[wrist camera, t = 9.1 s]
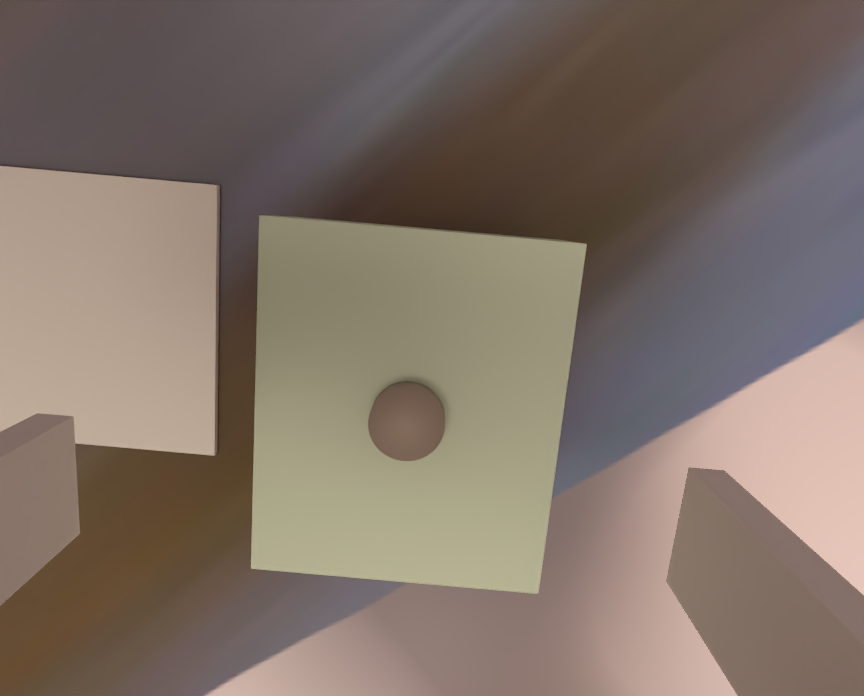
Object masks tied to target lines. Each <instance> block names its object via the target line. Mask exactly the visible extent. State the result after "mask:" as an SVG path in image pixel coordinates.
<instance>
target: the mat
mask: <svg viewBox="0 0 864 696" xmlns="http://www.w3.org/2000/svg"><path fill="white" fill-rule="evenodd" d="M219 245H220V185H210V184H199V183H188V182H176V181H165V180H154V179H143V178H131V177H120V176H109V175H97V174H86V173H75V172H64V171H52V170H41V169H30V168H18V167H7V166H0V432H1V431H3V430H5V429H7V428H9V427H11V426H13V425H15V424H17V423H19V422H21V421H23V420H25V419H27V418H29V417H31V416H33V415H35V414H37V413H41V414H53V415H65V416H74V433H75V443H78V444H89V445H100V446H112V447H123V448H134V449H146V450H157V451H168V452H179V453H191V454H202V455H213V456H215V455H216V454H217V435H218V340H219Z"/></svg>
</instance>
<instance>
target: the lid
mask: <svg viewBox="0 0 864 696" xmlns="http://www.w3.org/2000/svg"><path fill="white" fill-rule="evenodd" d="M586 246H587V244H584V243H578V242H571V241H565V240H556V239H545V238H533V237H522V236H510V235H499V234H488V233H476V232H465V231H453V230H442V229H430V228H419V227H408V226H396V225H385V224H373V223H362V222H350V221H339V220H328V219H316V218H305V217H293V216H266V215H259V246H258V289H257V332H256V375H255V418H254V462H253V505H252V548H251V569H262V570H273V571H284V572H296V573H307V574H319V575H330V576H341V577H353V578H364V579H376V580H387V581H398V582H410V583H421V584H433V585H444V586H455V587H467V588H478V589H490V590H501V591H512V592H524V593H535V594H538V592H539V585H540V578H541V570H542V563H543V556H544V549H545V540H546V534H547V527H548V520H549V513H550V505H551V498H552V491H553V484H554V477H555V470H556V462H557V455H558V448H559V441H560V434H561V426H562V419H563V412H564V405H565V398H566V390H567V383H568V376H569V369H570V362H571V354H572V347H573V340H574V333H575V325H576V318H577V311H578V304H579V297H580V289H581V282H582V275H583V268H584V261H585V253H586Z"/></svg>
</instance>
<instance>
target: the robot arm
mask: <svg viewBox="0 0 864 696" xmlns="http://www.w3.org/2000/svg"><path fill="white" fill-rule="evenodd" d="M79 534H80V527H79V508H78V490H77V471H76V452H75V433H74V416H65V415H53V414H41V413H37V414H35V415H33V416H31V417H29V418H27V419H25V420H23V421H21V422H19V423H17V424H15V425H13V426H11V427H9V428H7V429H5V430H3V431H1V432H0V605H1V604H3V603H4V602H5V601H6V600H7V599H8V598H9V597H10V596H11V595H13V594H14V593H15V592H16V591H17V590H18V589H19V588H20V587H21V586H23V585H24V584H25V583H26V582H27V581H28V580H29V579H30V578H31V577H32V576H34V575H35V574H36V573H37V572H38V571H39V570H40V569H41V568H42V567H44V566H45V565H46V564H47V563H48V562H49V561H50V560H51V559H52V558H53V557H55V556H56V555H57V554H58V553H59V552H60V551H61V550H62V549H63V548H65V547H66V546H67V545H68V544H69V543H70V542H71V541H72V540H73V539H75V538H76V537H77V536H78V535H79ZM666 581H667V583H668V585H669V586H670V588H671V589H672V591H673V592H674V594H675V596H676V597H677V599H678V601H679V602H680V604H681V605H682V607H683V609H684V610H685V612H686V613H687V615H688V617H689V618H690V620H691V621H692V623H693V624H694V626H695V628H696V629H697V631H698V633H699V634H700V636H701V637H702V639H703V641H704V642H705V644H706V646H707V647H708V649H709V650H710V652H711V654H712V655H713V656H714V658H715V660H716V662H717V663H718V665H719V666H720V668H721V670H722V671H723V673H724V674H725V676H726V678H727V679H728V681H729V682H730V684H731V686H732V687H733V689H734V690H735V692H736V693H737V695H738V696H864V596H863V595H862V594H861V593H860V592H859V591H858V590H857V589H856V588H855V587H853V586H852V585H851V584H850V583H849V582H848V581H847V580H846V579H845V578H843V577H842V576H841V575H840V574H839V573H838V572H837V571H836V570H834V569H833V568H832V567H831V566H830V565H829V564H828V563H827V562H826V561H824V560H823V559H822V558H821V557H820V556H819V555H818V554H817V553H816V552H814V551H813V550H812V549H811V548H810V547H809V546H808V545H807V544H805V543H804V542H803V541H802V540H801V539H800V538H799V537H798V536H797V535H796V534H794V533H793V532H792V531H791V530H790V529H789V528H788V527H787V526H785V525H784V524H783V523H782V522H781V521H780V520H779V519H778V518H776V517H775V516H774V515H773V514H772V513H771V512H770V511H769V510H768V509H767V508H765V507H764V506H763V505H762V504H761V503H760V502H759V501H757V500H756V499H755V498H754V497H753V496H752V495H751V494H750V493H749V492H748V491H746V490H745V489H744V488H743V487H742V486H741V485H740V484H739V483H738V482H736V481H735V480H734V479H733V478H732V477H731V476H730V475H728V473H726V472H725V471H724V470H712V469H700V468H689V469H688V474H687V479H686V484H685V489H684V494H683V499H682V504H681V510H680V514H679V520H678V525H677V530H676V535H675V540H674V545H673V550H672V555H671V560H670V565H669V570H668V576H667V580H666Z"/></svg>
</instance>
